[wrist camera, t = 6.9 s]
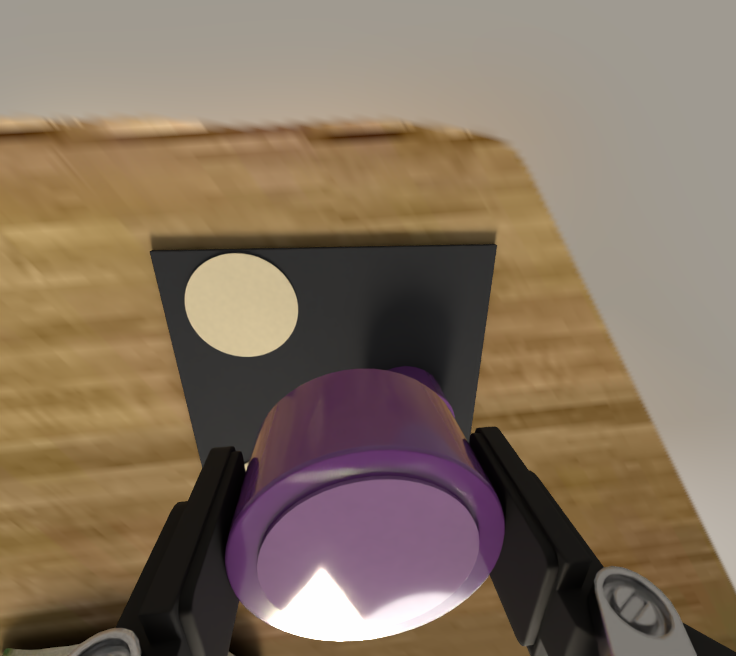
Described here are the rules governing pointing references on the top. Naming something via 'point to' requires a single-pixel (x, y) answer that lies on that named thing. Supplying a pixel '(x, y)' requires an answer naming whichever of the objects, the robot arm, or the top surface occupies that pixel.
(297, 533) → the purple short cylinder
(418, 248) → the mat
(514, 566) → the robot arm
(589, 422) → the top surface
